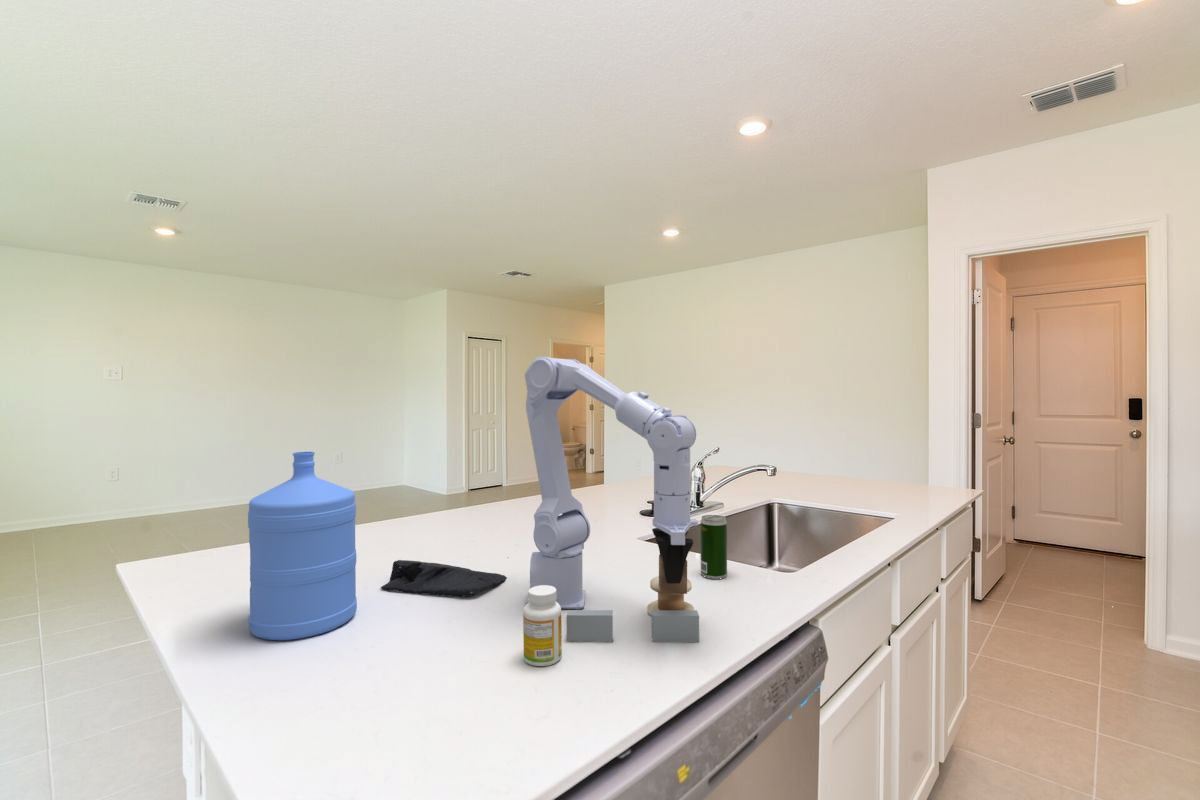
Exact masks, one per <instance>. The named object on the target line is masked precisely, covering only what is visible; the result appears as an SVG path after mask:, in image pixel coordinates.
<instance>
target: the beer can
mask: <svg viewBox="0 0 1200 800" xmlns="http://www.w3.org/2000/svg"><path fill="white" fill-rule="evenodd" d="M700 574H701V575H703V576H705V577H707V578H706V579H708V578H712V579H711V580H721V579H720V578H723V579H725V578H726V577H727V574H728V522H727V519H726V517H725V516H724V515H719V514H705V515H702V516H701V520H700ZM703 576H702V577H703ZM725 576H726V577H725ZM705 577H704V578H705ZM724 577H725V578H724Z"/></svg>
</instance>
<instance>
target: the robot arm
mask: <svg viewBox="0 0 1200 800" xmlns="http://www.w3.org/2000/svg"><path fill="white" fill-rule="evenodd" d="M524 379H525V385H526V391H527V393H526V401H525V402H526V403H525V411H526V415H527V417H526V418H527V422H528V426H529V427H528V428H529V433H530V434H529V435H530V440H531V444H532V450H533V456H534V461H535V468H536V472H537V478H538V484H539V490H540V495H541V503H540V505H539V506H538V507H537V509H536V511H535V512H534V514H533V519H534V527H533V528H534V529H533V541H534V544H535V547H536V548H537V550H538V551H533V552H532V553H531V556H530V566H529V589H530V588H532V587H535V586H540V585H548V586H553V587H555V588H556V593H557V598H556V601H555V602H557V603H558V604H559V605H560V606H561V610H562V609H564V610H565V609H566V610H583V609H584V607H585V602H586V601H585V600H586V594H587V593H586V590H584V589H583V550H584V549H585V543H586V542H587V541H588V540H589V538H590V534H591V525H590V521H589V519H588V518H587V516H586V515H585V512H584V510H583V505H582V503H581V502H580V501H579V500H578V499H576V498H575V497H574V496H573V494H572V489H571V484H570V477H569V473H568V471H569V470H568V467H567V460H566V455H565V451H564V450H565V449H564V446H563V439H562V434H561V429H560V423H559V418H558V417H559V416H558V411H559V410H560V408H561V407H562V406H563V403H564V402H566V401H567V400H568V399H570V398H571V397H572V396H573V395H574V394H575V393H578V391H579V390H580V391H582V392H583V393H585V395H588V396H590V397H592V398H593V399H596V400H597V401H598V402H600V403H602V404H604V405H605V406H607V407H609V408H611V409H613V410H614V412H615V418H616V420H617V421H618V422H619V423H621V424H623V425H624V426H626V428H628V429H630V430H631V431H633V432H634V433H636V434H638V435H639V436H641V437H642V438H644V439H645V440H646V441H647V444H648V446H649V448H650V450H651V451H652V454H653V455H652V456H653V457H652V458H653V519H652V526H653V527H655V528H652V529H651V531H652V533H653V535H654V537H655V538H654V540H655V542H656V544H657V546H658V551H659V555H662V559H663V565H664V572H665V578H666V581H667V583H680V582H681V579H682V575H683V570H684V565H685V561H686V560H687V557H688V554H689V553H690V551H691V549H692V547H693V545H694V539H692V538H686V536H687V534H688V533H689V529H690V528H691V527H697V526H698V525H699V521H698V520H697V519H696V518H691V448H692V446H694V444H695V442H696V440H697V430H696V426H695V425H694V423H693V422H692V420H690V419H689V418H688V417H687V416H686V415H684V414H683V415H682V414H676V415H673V414H672V409H671V408H670V407H667V406H666V407H665V406H664V407H662V406H661V405H659V404H657V403H656V402H653V400H651V399H649V397H650V395H649V394H648V393H646V392H645V391H638V392H637V391H630V392H628V393H626V392H624V391H623V390H621V389H620V388H618V387H617V386H616V385H614V384H613V383H611V382H610V381H609V380H607V379H606V378H604V377H603V376H601V375H600V374H599V373H597V372H596V371H594V370H593V369H592V368H591V367H590V366H589V365H587V364H585V363H581V362H580V361H579V360H578V359H575V358H556V357H548V356H544V355H543V356H542V355H541V356H538V357H536V358H534V359H533V361H532V362H531V363H530V365H528V368H527V369H526V371H525V372H524Z"/></svg>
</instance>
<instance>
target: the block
mask: <svg viewBox="0 0 1200 800" xmlns="http://www.w3.org/2000/svg"><path fill="white" fill-rule="evenodd" d="M658 576H659V588H660V591H661V594H684V595H687V594H688V592H687V579H688V560H687V559H686V561H685V565H684V570H683V575H682V579H681V582H680V583H667V581H666V578H665V572H664V565H663V559H662V555H660V554H658Z"/></svg>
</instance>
